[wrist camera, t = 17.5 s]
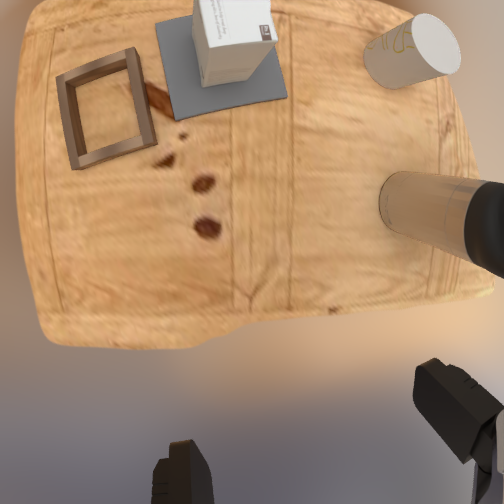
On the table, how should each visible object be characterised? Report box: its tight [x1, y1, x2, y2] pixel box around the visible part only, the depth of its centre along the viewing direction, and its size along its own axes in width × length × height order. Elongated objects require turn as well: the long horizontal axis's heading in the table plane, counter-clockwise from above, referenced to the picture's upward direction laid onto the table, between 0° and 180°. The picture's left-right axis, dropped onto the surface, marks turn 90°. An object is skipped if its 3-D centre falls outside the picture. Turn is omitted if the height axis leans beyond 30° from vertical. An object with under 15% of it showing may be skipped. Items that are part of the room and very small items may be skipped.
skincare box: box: [192, 0, 278, 88], centre depth 26 cm, size 8×6×15 cm
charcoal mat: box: [155, 15, 288, 121], centre depth 33 cm, size 14×14×1 cm
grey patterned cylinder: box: [364, 14, 461, 89], centre depth 31 cm, size 8×8×12 cm
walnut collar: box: [56, 47, 158, 170], centre depth 32 cm, size 10×12×4 cm
